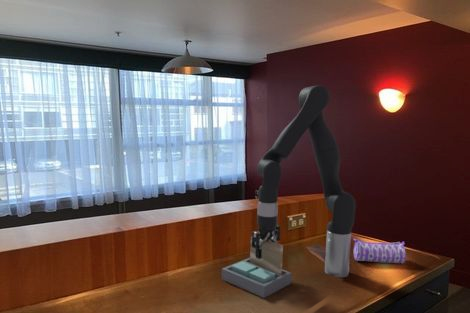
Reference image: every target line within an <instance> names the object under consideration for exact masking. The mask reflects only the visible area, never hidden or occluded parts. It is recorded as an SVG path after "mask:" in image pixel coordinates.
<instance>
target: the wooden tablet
mask: <svg viewBox="0 0 470 313" xmlns="http://www.w3.org/2000/svg"><path fill="white" fill-rule="evenodd" d="M309 246H310V247H308V246H306V247H307V249H308V250H309V251H308V250H307V249H306V250H307V251H308V252H309V253H311V254H312V255H313V256H315V257H317V259H318V260H320V261H321V262H322V263H324V264H325V257H326V247H324V246H323V245H319V244H314V245H309ZM350 266H351V264H350V263H349V267H350Z"/></svg>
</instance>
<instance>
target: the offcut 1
mask: <svg viewBox="0 0 470 313" xmlns="http://www.w3.org/2000/svg"><path fill="white" fill-rule="evenodd" d="M241 261H242V260H241ZM239 262H240V261H239ZM236 263H237V262H236ZM234 264H235V263H234ZM231 265H232V264H231ZM254 270H256V266H253V265H251V264H248V263H245V262H243V261H242V262H240V263H237V264H235V265H232V269H231V271H233V272H235V273H238V274H240V275H243V276H245V277H247V278H249V273H250V272H252V271H254Z"/></svg>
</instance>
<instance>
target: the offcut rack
mask: <svg viewBox="0 0 470 313" xmlns="http://www.w3.org/2000/svg"><path fill="white" fill-rule="evenodd" d="M242 261H243V262H245V263H248V264H251V265H253V266H256V269H259V268H261V269H264V270H266V271H269V272H272V273H274V274H275V279H273V280H271V281H269V282H267V283H265V284H262V283H260V282H257V281H255V280H252V279H250V278H247V277H245V276H243V275H240V274H238V273H235V272H233V271H231V269H232V265H235V264H237V263H240V262H242ZM292 274H293V273H292V272H290V271H288V270H285V269H283V268H282V275H281V274H278V273H276V272H273V271H270V270H268V269H265V268H262V267H260V266H257V265H254V264H252V263H250V257H248V258H245V259H243V260H241V261H237V262H235V263H233V264H230V265H228V266H225V267H223V268H221V280H222V281H225V282H227V283H228V284H229V283H230V284H232V286H233V285H234V286H236V287H238V288H240V289H242V290H245V291H247V292H249V293H252V294H254V295H256V296H258V297H261V298H262V299H264V298H267V297H268V296H270V295H272V294H274V293H276V292H277V291H280V290H281V289H283V288H285V287H287V286H290V285H291V284H292Z"/></svg>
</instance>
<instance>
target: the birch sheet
mask: <svg viewBox="0 0 470 313" xmlns="http://www.w3.org/2000/svg"><path fill="white" fill-rule="evenodd" d="M260 240H261V238H260ZM262 241H263V240H262ZM255 244H256V242H255ZM260 244H261V243H259V246H260ZM249 251H250V256H249V258H250V263H252V264H254V265H257V266H260V267H262V268H265V269H268V270H270V271H273V272H276V273H278V274H281V275H282V269H283V256H284V255H283V253H284V252H283V251H284V245H283V244H281V243H278V242H277V243H274V242H271V241H270V240H268V241H266V242H265V244H263V246H262V258H261V259H258V258H256V256H255V253H256V249H255V248H253V247H252V236H250V250H249Z"/></svg>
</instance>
